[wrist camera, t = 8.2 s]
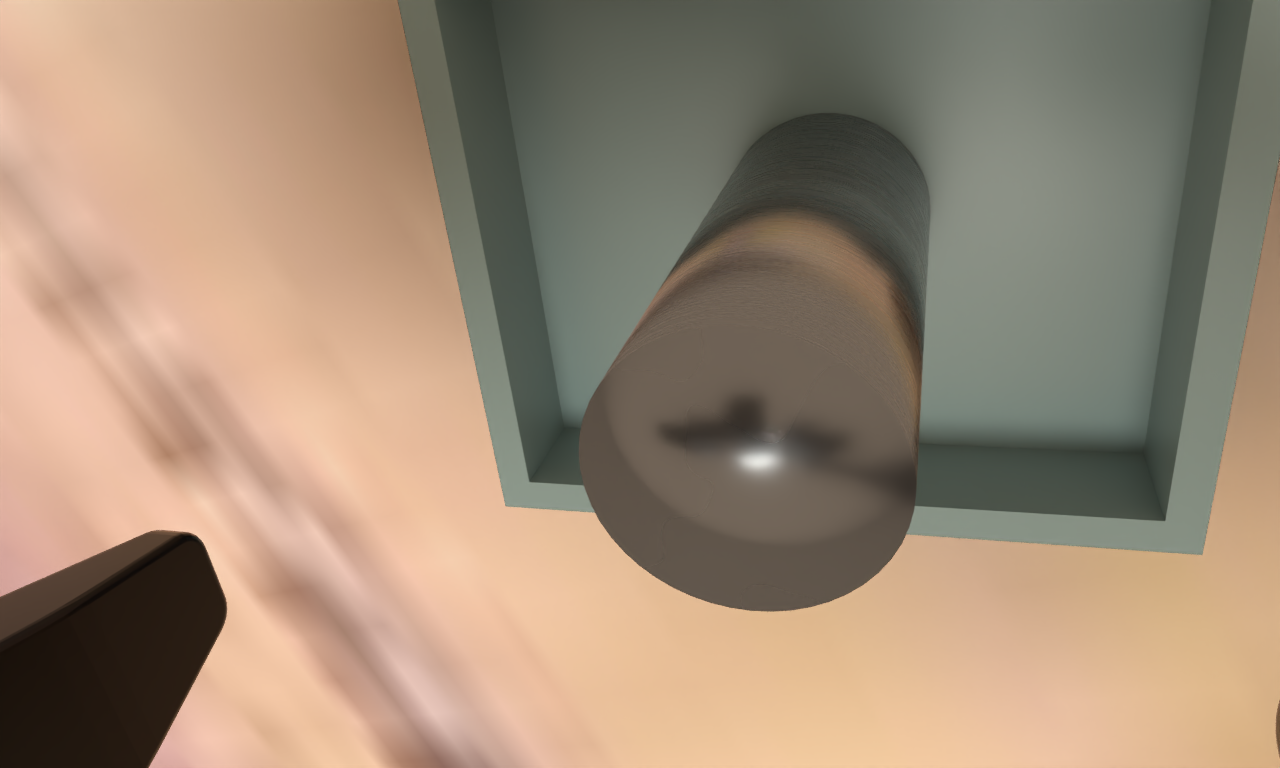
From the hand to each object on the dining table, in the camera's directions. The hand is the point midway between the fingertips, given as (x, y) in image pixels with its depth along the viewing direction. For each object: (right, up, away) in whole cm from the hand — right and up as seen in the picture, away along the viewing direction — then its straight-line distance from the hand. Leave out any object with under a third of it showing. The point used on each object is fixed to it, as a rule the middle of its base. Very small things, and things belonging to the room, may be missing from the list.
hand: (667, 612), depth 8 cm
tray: (+3, +5, +9) cm, 11 cm away
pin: (+3, +5, +8) cm, 10 cm away
